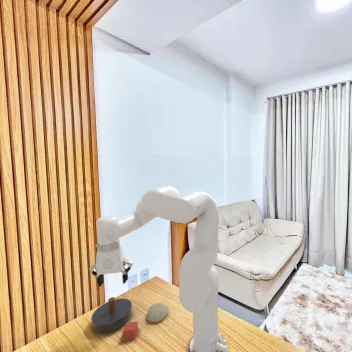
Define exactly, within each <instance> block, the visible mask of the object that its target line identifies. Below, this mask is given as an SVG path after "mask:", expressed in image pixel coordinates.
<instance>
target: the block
mask: <svg viewBox="0 0 352 352" xmlns="http://www.w3.org/2000/svg"><path fill="white" fill-rule="evenodd" d="M138 332H139V322H138V320H136V321H128V322H127V323H126V324H125V325H124V326H123V330H122V339H123V340H122V341H127V340H135V339H136V337H137V334H138Z"/></svg>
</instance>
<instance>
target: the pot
mask: <svg viewBox="0 0 352 352" xmlns="http://www.w3.org/2000/svg"><path fill="white" fill-rule="evenodd" d="M132 315H133V313H132V309H131V310H130V312H129V313H128V314H127V315H126V316H125V317H124V318H122V319H121V320H119V321H117V322H115V323H113V324H110V325H106V326H97V325H95V324H93V323H92V327H93V331H94V332H95V333H96V334H98V335H106V334H112V333H114V332H116V331H119V330H120V329H122V328H124V327H125V325H126V323H127V322H130V320H131V319H132Z"/></svg>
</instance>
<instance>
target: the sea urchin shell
mask: <svg viewBox="0 0 352 352" xmlns="http://www.w3.org/2000/svg"><path fill="white" fill-rule="evenodd" d="M168 314H169V307H168V306H167V305H166V304H165V303H163V302H156V303H154V304H152V305H150V306H149V308H148V310H147V313H146V318H147V320H148V321H149V322H150V323H159V322H162V321H163V320H164V319H165V318H166V317H167V316H168Z"/></svg>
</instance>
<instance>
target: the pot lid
mask: <svg viewBox="0 0 352 352" xmlns="http://www.w3.org/2000/svg"><path fill="white" fill-rule="evenodd" d="M132 308H133V303H132V301H131V300H130V299H128V298H116V297H114V296H112V297H108V299H107V301H106V302H105V303H103V304H101V305H100V306H99V307H97V308H96V310H94V312H93V313H92V315H91V322H92V325H93V324H95V325H97V326H106V325H110V324H113V323H115V322H117V321H119V320H121V319H122V318H124V317H125V316H126V315H127V314H128V313H129V312H130V310H131V311H132Z"/></svg>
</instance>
